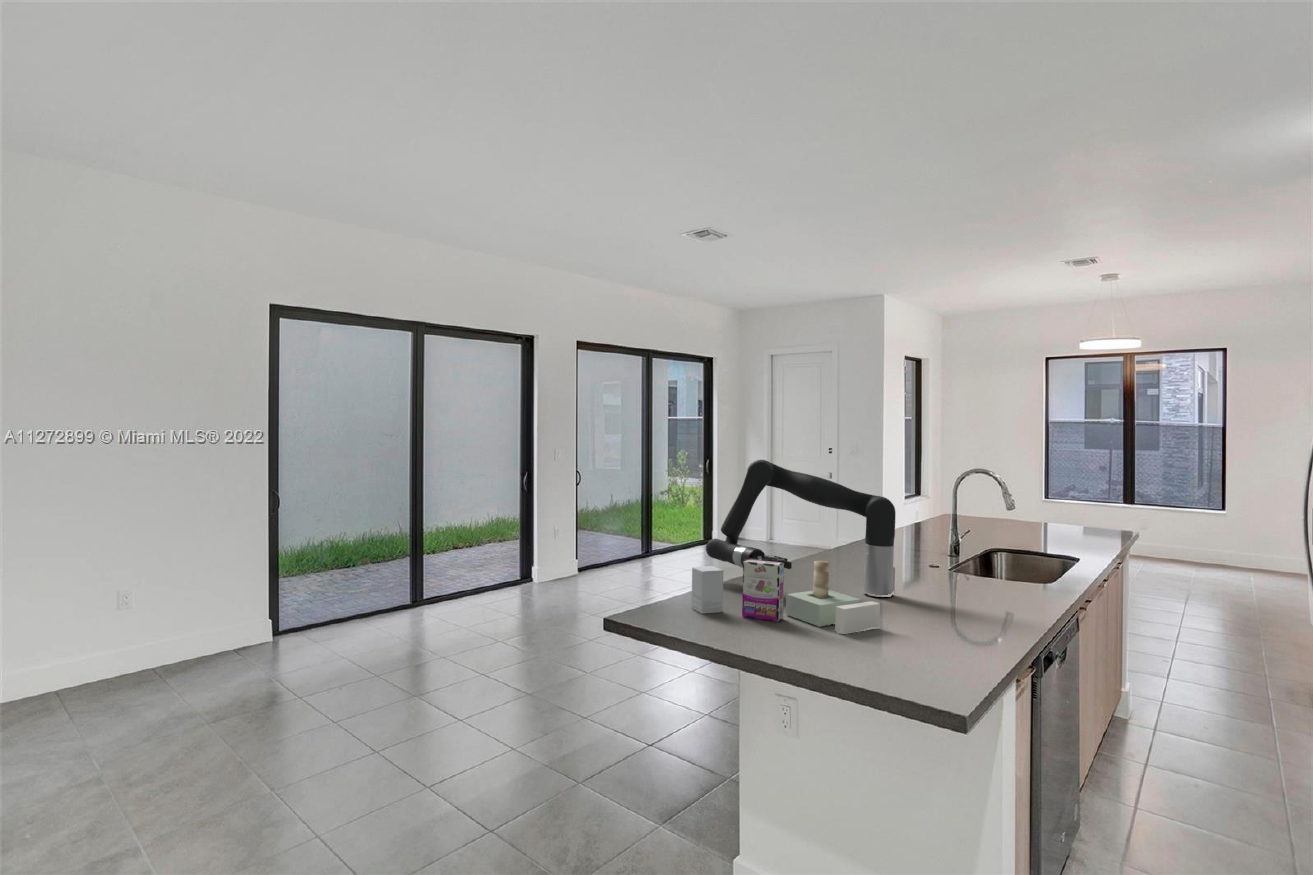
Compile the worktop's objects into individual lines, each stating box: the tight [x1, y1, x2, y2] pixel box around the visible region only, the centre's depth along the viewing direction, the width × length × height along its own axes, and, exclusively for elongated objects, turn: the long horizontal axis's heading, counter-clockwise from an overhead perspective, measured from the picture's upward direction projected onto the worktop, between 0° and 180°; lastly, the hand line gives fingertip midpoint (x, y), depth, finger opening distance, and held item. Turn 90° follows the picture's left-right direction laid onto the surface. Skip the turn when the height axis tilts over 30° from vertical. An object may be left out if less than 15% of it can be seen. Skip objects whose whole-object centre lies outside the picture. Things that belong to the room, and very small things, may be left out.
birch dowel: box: [812, 560, 830, 599], centre depth 198 cm, size 4×4×14 cm
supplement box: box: [690, 565, 724, 614], centre depth 203 cm, size 7×7×13 cm
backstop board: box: [834, 600, 881, 634], centre depth 186 cm, size 14×3×7 cm, turn 120°
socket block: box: [785, 589, 862, 628], centre depth 197 cm, size 16×14×6 cm
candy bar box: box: [741, 559, 785, 623], centre depth 196 cm, size 11×5×16 cm, turn 62°
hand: (780, 566), depth 214 cm, fingers open, 8 cm apart
